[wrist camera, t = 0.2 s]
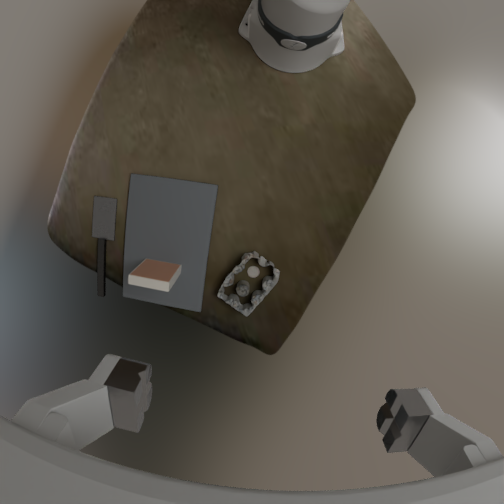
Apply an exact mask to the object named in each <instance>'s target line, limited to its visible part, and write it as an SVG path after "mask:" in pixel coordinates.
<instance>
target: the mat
mask: <svg viewBox="0 0 504 504" xmlns="http://www.w3.org/2000/svg"><path fill="white" fill-rule="evenodd" d="M217 190H218V185H214V184H207V183H200V182H193V181H186V180H179V179H172V178H164V177H156V176H148V175H140V174H131V179H130V188H129V197H128V208H127V219H126V233H125V249H124V272H123V296H124V297H129V298H133V299H137V300H142V301H147V302H152V303H156V304H161V305H166V306H171V307H176V308H182V309H187V310H192V311H198V312H201V307H202V298H203V290H204V282H205V274H206V267H207V259H208V252H209V245H210V238H211V230H212V224H213V217H214V210H215V203H216V197H217ZM145 259H152V260H157V261H163V262H168V263H174V264H179V265H182V268H181V274H180V275H179V277H178V278H177V280H176V281H175V283H174V284H173V286H172V288H171V289H170V291H169V292H166V291H161V290H156V289H151V288H146V287H141V286H136V285H131V284H128V275H129V274H130V273H131V272H132V271H133V270H134V269H135V268H136V267H137V266H138V265H139V264H141V263H142V262H143V261H144V260H145Z"/></svg>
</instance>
